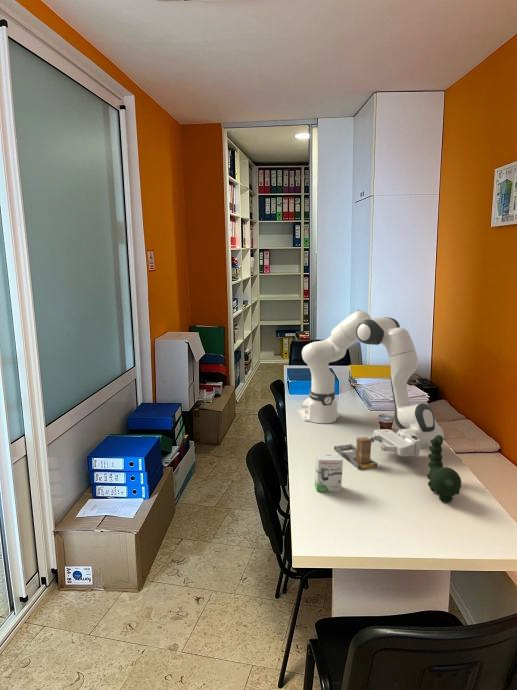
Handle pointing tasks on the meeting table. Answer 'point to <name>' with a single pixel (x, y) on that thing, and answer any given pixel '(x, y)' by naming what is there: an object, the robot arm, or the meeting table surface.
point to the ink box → (328, 472)
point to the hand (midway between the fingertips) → (375, 444)
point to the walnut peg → (363, 450)
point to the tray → (353, 457)
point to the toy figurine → (442, 473)
